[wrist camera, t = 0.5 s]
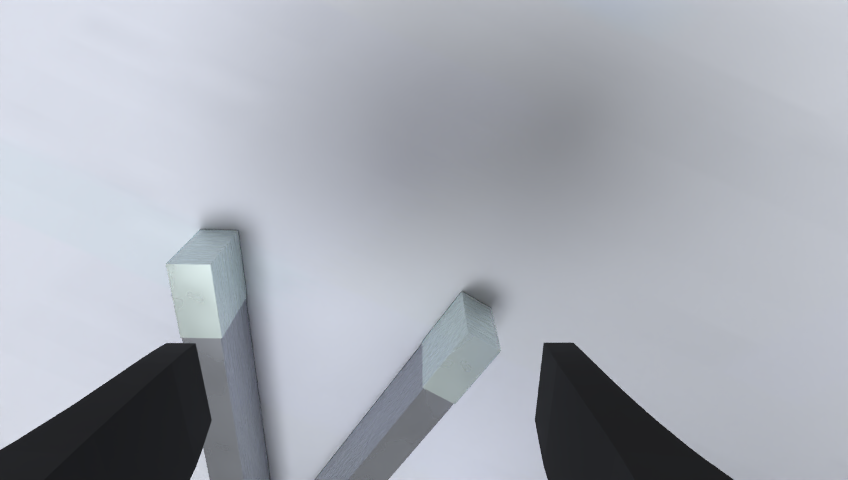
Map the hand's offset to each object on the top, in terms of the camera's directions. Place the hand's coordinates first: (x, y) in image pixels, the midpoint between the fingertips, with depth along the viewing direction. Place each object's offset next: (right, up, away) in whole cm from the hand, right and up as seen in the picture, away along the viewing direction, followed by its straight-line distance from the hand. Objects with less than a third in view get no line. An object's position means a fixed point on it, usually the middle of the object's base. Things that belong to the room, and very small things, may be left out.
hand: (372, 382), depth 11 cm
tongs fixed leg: (-2, -6, +14) cm, 15 cm away
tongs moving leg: (-7, -3, +12) cm, 15 cm away
